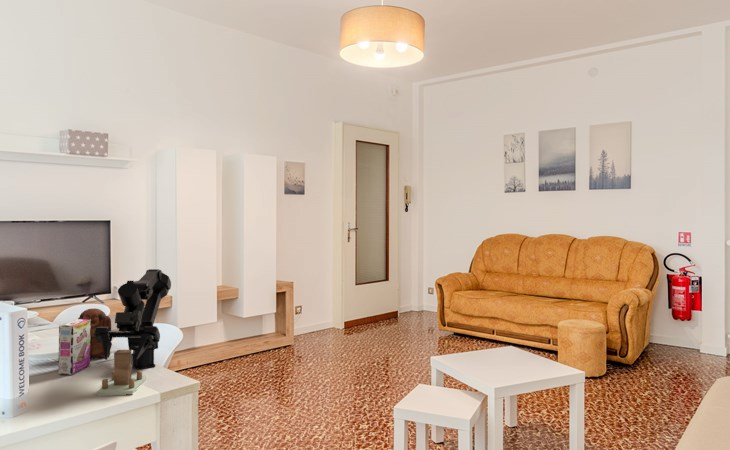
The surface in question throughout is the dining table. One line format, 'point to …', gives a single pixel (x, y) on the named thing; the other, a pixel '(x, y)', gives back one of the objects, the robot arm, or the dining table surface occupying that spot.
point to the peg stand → (110, 389)
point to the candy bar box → (74, 346)
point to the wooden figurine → (97, 320)
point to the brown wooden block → (122, 367)
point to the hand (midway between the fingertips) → (121, 358)
